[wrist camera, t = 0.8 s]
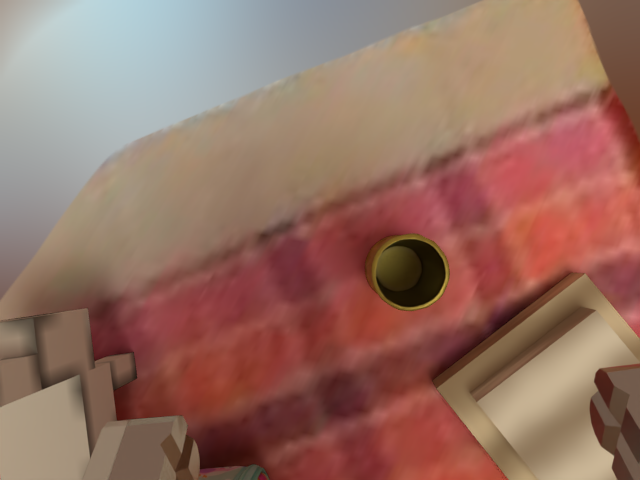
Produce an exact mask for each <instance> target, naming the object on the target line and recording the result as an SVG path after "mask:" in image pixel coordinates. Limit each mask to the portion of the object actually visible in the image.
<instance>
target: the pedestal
mask: <svg viewBox="0 0 640 480" xmlns="http://www.w3.org/2000/svg"><path fill="white" fill-rule="evenodd" d="M639 363H640V339H639V337H638V336H637V335H636V334H635V333H634V331H633V330H632V329H631V328H630V327H629V325H628V324H627V323H626V322H625V321H624V319H623V318H622V317H621V316H620V315H619V313H618V312H617V311H616V310H615V309H614V307H613V306H612V305H611V304H610V303H609V301H608V300H607V299H606V298H605V297H604V296H603V294H602V293H601V292H600V291H599V290H598V288H597V287H596V286H595V285H594V284H593V282H592V281H591V280H590V279H589V278H588V276H587V275H586V274H585V273H571V274H569V275H568V276H567V277H566V278H564V279H563V280H562V281H560V282H559V283H558V284H556V285H555V286H554V287H553V288H551V289H550V290H549V291H547V292H546V293H545V294H544V295H542V296H541V297H540V298H538V299H537V300H536V301H535V302H533V303H532V304H531V305H529V306H528V307H527V308H526V309H524V310H523V311H522V312H520V313H519V314H518V315H516V316H515V317H514V318H513V319H511V320H510V321H509V322H507V323H506V324H505V325H504V326H502V327H501V328H500V329H498V330H497V331H496V332H495V333H493V334H492V335H491V336H489V337H488V338H487V339H485V340H484V341H483V342H482V343H480V344H479V345H478V346H476V347H475V348H474V349H473V350H471V351H470V352H469V353H467V354H466V355H465V356H464V357H462V358H461V359H460V360H458V361H457V362H456V363H454V364H453V365H452V366H451V367H449V368H448V369H447V370H445V371H444V372H443V373H442V374H440V375H439V376H438V377H436V378H435V379H434V380H433V383H434V385H435V387H436V389H437V390H438V391H439V392H440V394H441V395H442V396H443V397H444V399H445V400H446V401H447V402H448V404H449V405H450V406H451V407H452V409H453V410H454V411H455V412H456V414H457V415H458V416H459V418H460V419H461V420H462V421H463V423H464V424H465V425H466V426H467V428H468V429H469V430H470V431H471V433H472V434H473V435H474V436H475V438H476V439H477V440H478V441H479V443H480V444H481V445H482V447H483V448H484V449H485V450H486V452H487V453H488V454H489V455H490V457H491V458H492V459H493V460H494V462H495V463H496V464H497V465H498V467H499V468H500V469H501V470H502V472H503V473H504V474H505V476H506V477H507V478H508V479H509V480H617V478H616V476H615V474H614V472H613V470H612V463H613V459H614V456H613V455H612V454H611V453H609V452H608V451H606V450H605V449H604V448H602V447H601V446H600V444H599V442H598V440H597V437H596V435H595V433H594V430H593V427H592V424H591V418H590V410H589V408H590V400H591V397H592V396H593V395H594V394H595V393H596V392H597V391H598V389H597V387H596V385H595V383H594V378H595V374H596V372H597V371H598V369H599V368H607V367H615V366H623V365H631V364H639Z"/></svg>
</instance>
